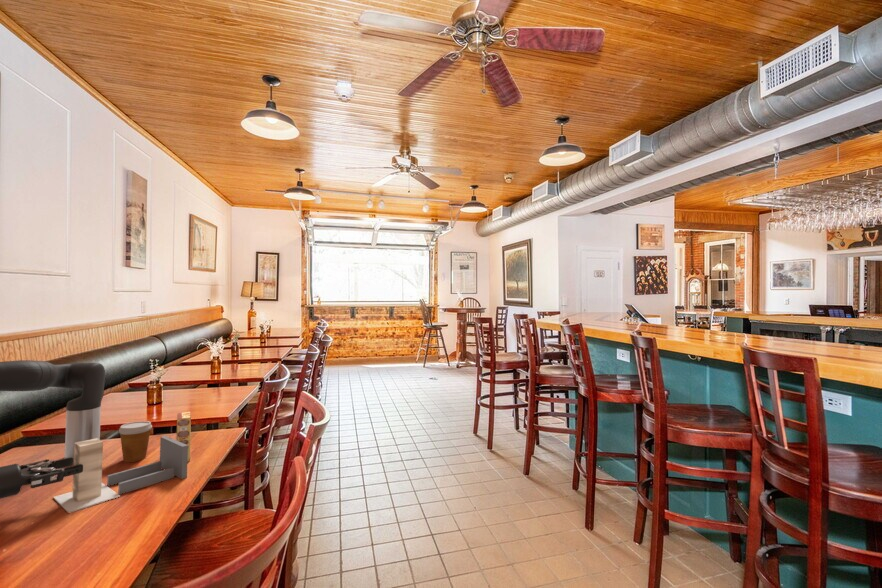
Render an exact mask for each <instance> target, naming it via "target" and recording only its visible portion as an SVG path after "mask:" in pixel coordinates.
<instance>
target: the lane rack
mask: <svg viewBox="0 0 882 588" xmlns="http://www.w3.org/2000/svg"><path fill="white" fill-rule="evenodd" d="M159 441H160V443H159V446H160V448H159V461H158V460H157V461H156V462H151V463H148V464H144V465H140V466H137V467H134V468H133V467H132V468H129V469H125V470H122V471H119V472H114V473H111V474H108V475H107V479H106V480H107V481H106V482H107V483H106V486H107V485H108V487H111V486H114V484H115V485H117V483H118V493H119V495H123V494H126V493H129V492H132V491H135V490H139V489H142V488H145V487H149V486H152V485H155V484H158V483H161V481H162V482H164V481H168V480H171V479H174V478H175V477H177V478H179V479H181V480H183V479H186V478H188V461H187V459H188V445H186V444H184V443H181V442H179V441H177V440H176V439H174V438H171V437H170V436H168V435H163V436H160V440H159ZM162 468H163V469H162ZM164 469H165V470H164ZM110 485H111V486H110ZM125 492H126V493H125ZM118 493H117V494H118ZM122 493H123V494H122Z"/></svg>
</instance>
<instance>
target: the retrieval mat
mask: <svg viewBox="0 0 882 588" xmlns="http://www.w3.org/2000/svg"><path fill="white" fill-rule="evenodd" d="M72 496H73V491H69V492H65V493H63V494H58V495H55V496H53V498H52V499H54V500H55V502H57V504H59V506H61V507H62V508H63V509H64V511H66V512H67V513H68V514H71V513H74V512H77V511H81V510H83V509H86V508H89V507H90V508H91V507H93V506H96V505H99V504H102V503H106V502H109V501H112V500H111V499H113V500H115V498H116V499H118V497H119V498H121V494H118V493H117V492H116V491H114V490H113V489H112V488H111V487H110V486H107V484H105V483H103V482H102V485H101V496H97V497H94V498H91V499H87V500H84V501H81V502H77V501H76V500H75V499H74V498H73V497H72ZM108 500H109V501H108ZM105 501H106V502H105Z"/></svg>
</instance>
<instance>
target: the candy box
mask: <svg viewBox="0 0 882 588" xmlns="http://www.w3.org/2000/svg"><path fill="white" fill-rule="evenodd" d="M176 415H177V417H176V439H175V440H177V441H179V442H181V443H184V444H186V445H188V459H187V462H190V461H191V442H192V441H191V440H192V439H191V437H192V436H191V433H192V430H191V429H192V427H191V425H192V421H191V420H192V419H191V418H192V417H191V416H192V415H191V411H187V412H186V411H184V412H178V413H176Z"/></svg>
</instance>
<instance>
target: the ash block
mask: <svg viewBox="0 0 882 588" xmlns="http://www.w3.org/2000/svg"><path fill="white" fill-rule="evenodd" d="M103 452H104V441H102V440H101V439H100V440H99V439H97V438H96V439H91V440H86V441H82V442H77V443H75V444H74V461H73V466H74V465H78V464H82V465H83V472H82V473H78V474H74V475H72V492H73V496H72V497H73V498H74V499H75V500H76V501H77V502H81V501H84V500H87V499H91V498H94V497H97V496H101V485H102V483H103V482H102V480H103V479H102V477H103V458H104V457H103V454H104V453H103Z"/></svg>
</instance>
